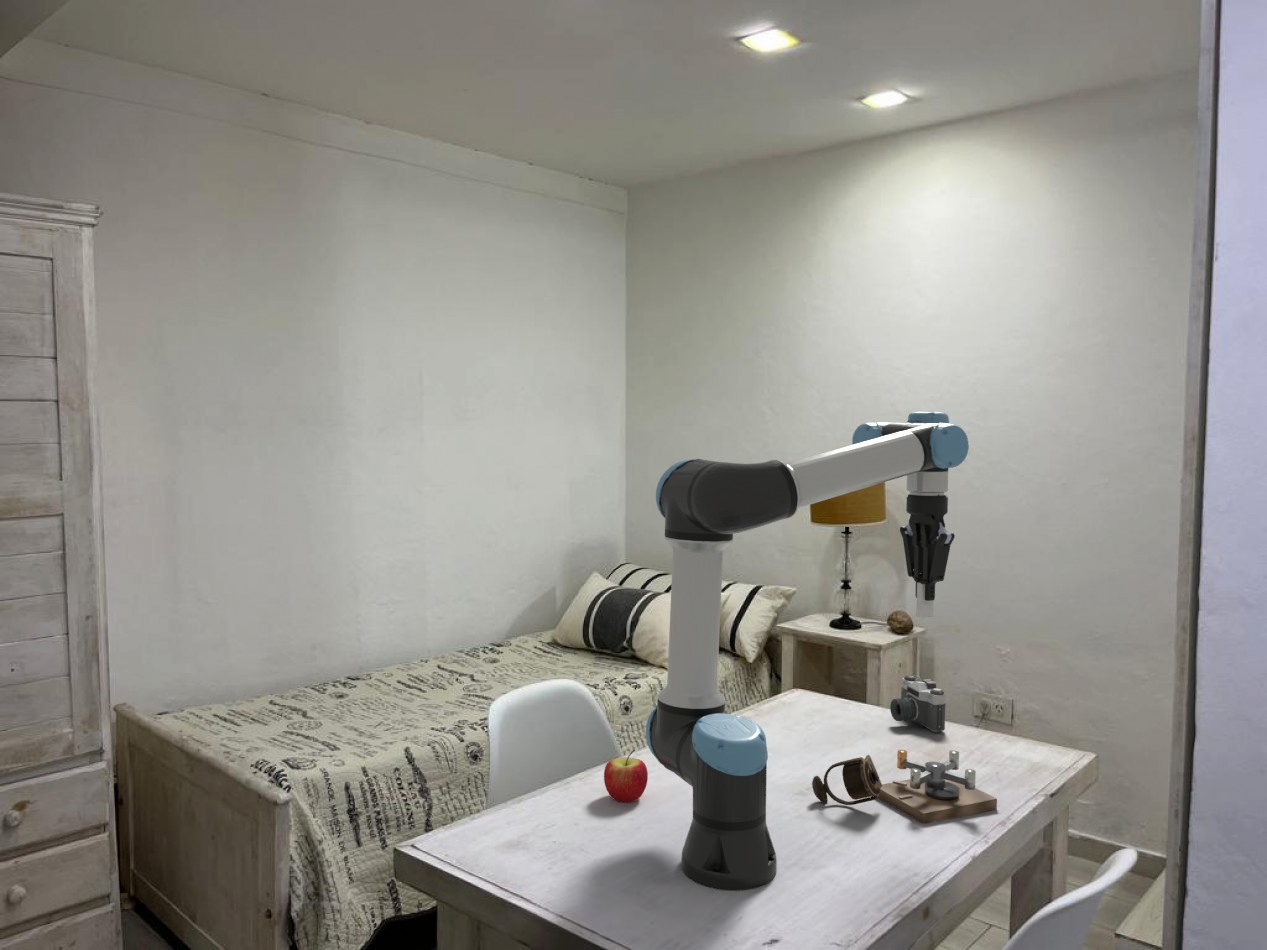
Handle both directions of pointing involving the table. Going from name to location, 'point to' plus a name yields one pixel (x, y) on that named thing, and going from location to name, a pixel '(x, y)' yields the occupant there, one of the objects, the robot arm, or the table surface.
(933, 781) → the grey star handwheel
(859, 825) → the table surface
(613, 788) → the apple
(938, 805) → the stand board
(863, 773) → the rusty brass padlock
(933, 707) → the camera
